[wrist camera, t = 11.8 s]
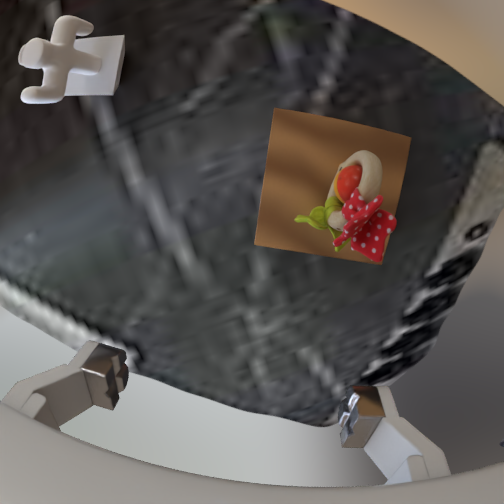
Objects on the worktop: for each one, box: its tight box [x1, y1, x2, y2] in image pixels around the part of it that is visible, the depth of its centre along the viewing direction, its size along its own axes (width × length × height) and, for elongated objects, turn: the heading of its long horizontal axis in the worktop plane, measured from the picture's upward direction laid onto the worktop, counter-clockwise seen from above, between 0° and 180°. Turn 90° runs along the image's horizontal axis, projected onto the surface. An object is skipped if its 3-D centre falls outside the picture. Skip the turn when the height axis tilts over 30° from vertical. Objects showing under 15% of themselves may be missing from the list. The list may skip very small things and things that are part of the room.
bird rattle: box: [294, 150, 397, 262], centre depth 25 cm, size 6×11×9 cm
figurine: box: [19, 16, 125, 103], centre depth 25 cm, size 7×9×15 cm
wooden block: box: [254, 108, 411, 265], centre depth 33 cm, size 14×14×6 cm
